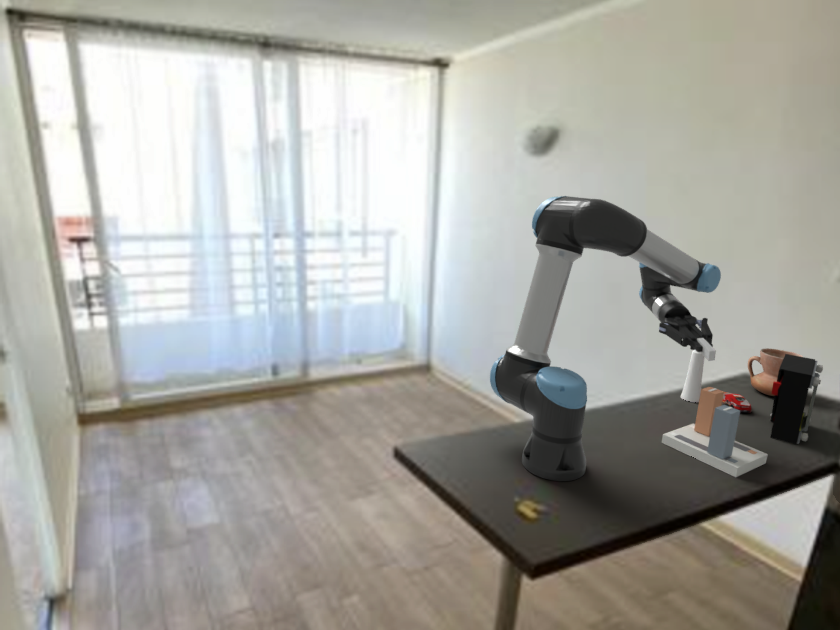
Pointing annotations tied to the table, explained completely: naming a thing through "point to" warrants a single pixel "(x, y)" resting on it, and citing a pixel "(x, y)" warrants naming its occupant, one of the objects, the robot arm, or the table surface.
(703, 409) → the terracotta switch
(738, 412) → the slate switch
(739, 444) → the switch plate
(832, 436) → the table surface
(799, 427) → the electrical component
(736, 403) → the race car
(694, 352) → the cosmetic bottle
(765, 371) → the ceramic jug
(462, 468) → the table surface
